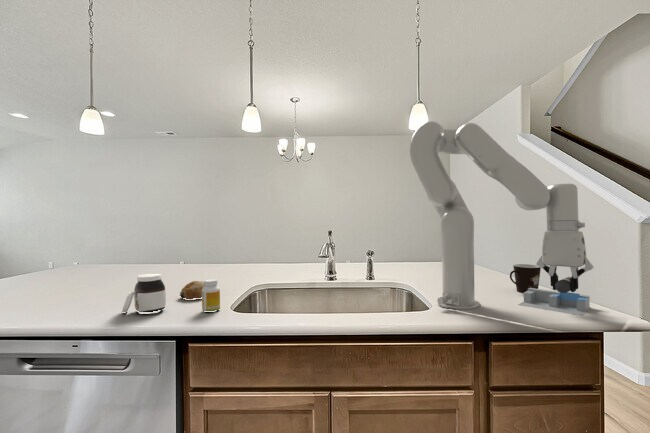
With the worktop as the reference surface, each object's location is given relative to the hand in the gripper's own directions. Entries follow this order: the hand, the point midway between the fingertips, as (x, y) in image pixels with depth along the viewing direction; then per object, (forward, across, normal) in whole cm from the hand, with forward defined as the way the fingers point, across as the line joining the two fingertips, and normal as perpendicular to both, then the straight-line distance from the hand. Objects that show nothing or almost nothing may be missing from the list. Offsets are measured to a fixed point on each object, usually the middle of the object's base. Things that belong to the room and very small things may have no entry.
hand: (564, 289), depth 99 cm
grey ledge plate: (+7, +4, -5) cm, 9 cm away
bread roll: (+5, +99, +68) cm, 120 cm away
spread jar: (+5, +92, +87) cm, 127 cm away
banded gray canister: (+1, 0, -2) cm, 2 cm away
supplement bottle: (+5, +78, +71) cm, 106 cm away
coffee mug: (+7, +17, -19) cm, 26 cm away
